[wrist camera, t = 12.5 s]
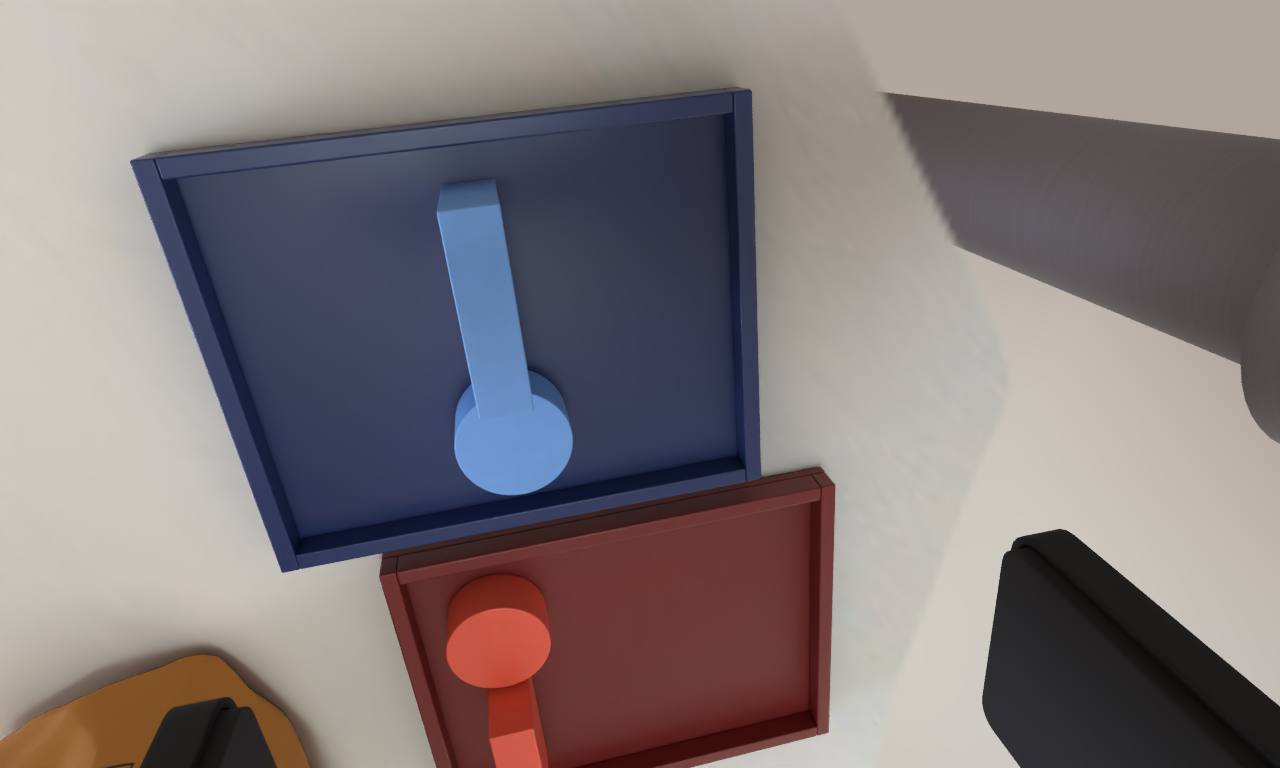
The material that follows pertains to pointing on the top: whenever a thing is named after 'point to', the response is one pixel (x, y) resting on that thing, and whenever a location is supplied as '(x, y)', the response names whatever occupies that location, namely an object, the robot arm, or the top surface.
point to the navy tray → (428, 322)
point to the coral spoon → (503, 660)
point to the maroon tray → (644, 626)
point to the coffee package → (140, 719)
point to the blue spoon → (497, 355)
